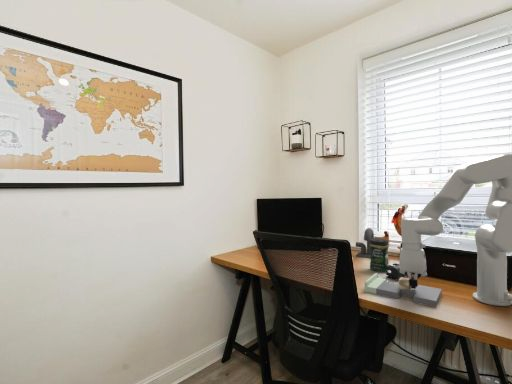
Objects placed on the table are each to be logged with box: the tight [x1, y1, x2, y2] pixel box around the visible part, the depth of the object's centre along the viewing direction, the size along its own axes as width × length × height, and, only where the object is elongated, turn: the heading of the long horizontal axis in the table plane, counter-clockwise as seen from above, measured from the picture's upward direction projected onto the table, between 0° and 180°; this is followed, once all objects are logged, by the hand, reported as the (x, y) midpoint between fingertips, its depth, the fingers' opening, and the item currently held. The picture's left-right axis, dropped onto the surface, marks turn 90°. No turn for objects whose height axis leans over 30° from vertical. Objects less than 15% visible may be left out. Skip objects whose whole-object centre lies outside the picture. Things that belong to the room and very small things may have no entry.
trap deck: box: [364, 272, 443, 308], centre depth 129 cm, size 28×16×4 cm, turn 51°
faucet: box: [355, 227, 375, 260], centre depth 188 cm, size 18×16×20 cm
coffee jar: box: [369, 236, 390, 273], centre depth 162 cm, size 10×8×19 cm
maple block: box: [398, 276, 411, 290], centre depth 128 cm, size 4×4×4 cm
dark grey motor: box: [385, 263, 407, 281], centre depth 150 cm, size 10×7×7 cm
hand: (413, 287), depth 126 cm, fingers closed
